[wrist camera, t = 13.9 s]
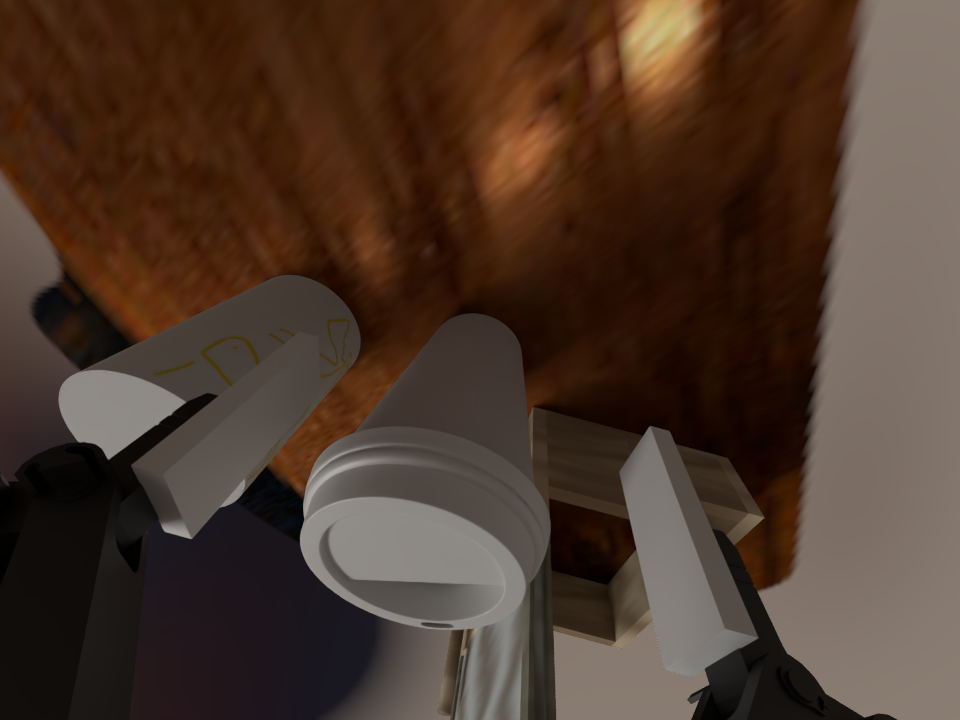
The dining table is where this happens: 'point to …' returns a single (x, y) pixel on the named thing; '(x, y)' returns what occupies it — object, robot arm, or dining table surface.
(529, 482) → the coffee cup
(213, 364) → the white cylinder
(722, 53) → the dining table surface
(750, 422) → the dining table surface
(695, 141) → the dining table surface
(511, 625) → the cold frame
